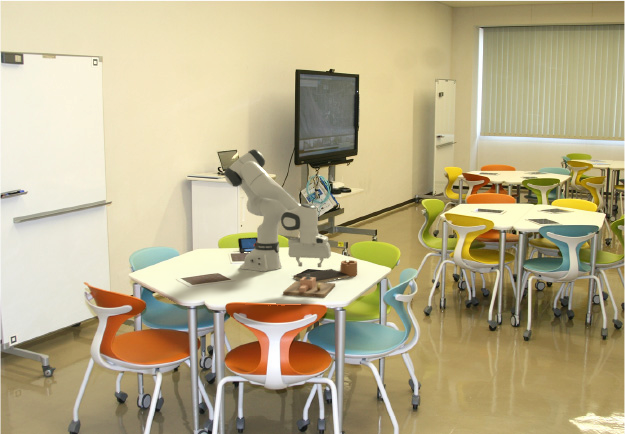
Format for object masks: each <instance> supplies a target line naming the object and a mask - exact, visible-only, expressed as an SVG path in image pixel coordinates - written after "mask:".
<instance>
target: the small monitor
mask: <svg viewBox="0 0 625 434" xmlns="http://www.w3.org/2000/svg"><path fill="white" fill-rule="evenodd" d="M257 241H258V239H257V236H255V237H239V238H238V239H237V242H238V250H239V252H240V253H241V254H245V253H244V252H251V251H252V250H254V249H255V247H254V245H253V244H254V243H256V242H257Z"/></svg>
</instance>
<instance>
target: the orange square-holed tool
mask: <svg viewBox="0 0 625 434" xmlns="http://www.w3.org/2000/svg"><path fill="white" fill-rule="evenodd" d="M299 281H300V288H299V292H306V291H307V290H308V289H313V288H314V287H315V286H316V277H310V280H307V279H306V277H303V278H302V279H300V280H299Z"/></svg>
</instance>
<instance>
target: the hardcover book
mask: <svg viewBox="0 0 625 434" xmlns="http://www.w3.org/2000/svg"><path fill="white" fill-rule="evenodd" d="M306 274H310V277H316V282H321V283H328V282H330V281H329V280H333V279H338V278H345V279H348V278H349V277H348V274H345V273H342V272H341V271H339V270H336V269H332V268H330V269H322V270H317V271H312V272H311V271H310V272H305V273H300V274H294V275H293V276H292V277H293V279H295V280H296V281H300V279H302V278H303V277H306ZM327 281H328V282H327Z"/></svg>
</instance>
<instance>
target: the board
mask: <svg viewBox="0 0 625 434" xmlns="http://www.w3.org/2000/svg"><path fill="white" fill-rule="evenodd" d="M318 283H320V290H319V291H318V290H317V284H318ZM335 287H336V283H335V282H333V283H332V282H322V283H321V282H316V286H315V287H314V288H313V289H308V290H307V291H306V292H299V288H300V280H295V281H294V282H293V283H292V284H290V285H288V287H287V288H286V289H284V290H283V291H282V295H283V296H284V295H285V296H294V297H295V296H296V297H297V296H298V297H310V298H311V297H313V298H326V296H327V295H328V294H329V293H331V292H332V290H333V289H334V288H335Z"/></svg>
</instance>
